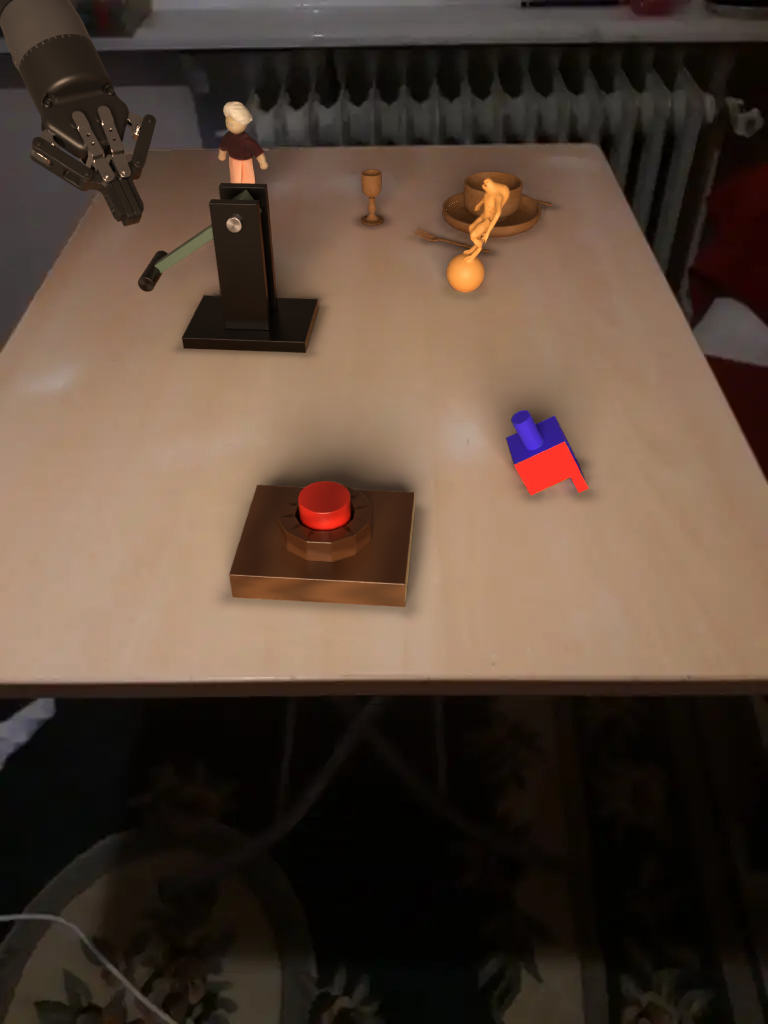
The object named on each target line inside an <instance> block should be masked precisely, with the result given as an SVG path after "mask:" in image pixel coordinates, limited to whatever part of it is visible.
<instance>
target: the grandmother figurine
mask: <svg viewBox="0 0 768 1024" xmlns="http://www.w3.org/2000/svg"><path fill="white" fill-rule="evenodd" d="M222 112H223V115H224V117H225V126H226V128H227V130H228V131H227V132H226V133H225V134H224V135H223V136H222V138H221V141H220V142H219V144H218V155H217V159H218V160H219V161H221V162H223V161H226V159H227V154H228V167H229V178H230V183H255V184H257V183H256V176H255V170H254V164H253V159H254V158H255V159H256V160H257V162H258V163H259V167H260V169H261V170H264V171H265V170H267V169H268V168H269V163H268V162H267V158H266V156H265V155H266V154H265V149H263V148H262V146H261V145H260V144H259V143H258V142H257V140H255V139H254V138H253V137H251V136H250V135H249V134H248V133H247V132H246V129H247V127H248V125H249V123H251V122H253V115H252V114H251V112H250V111H249V108H247V107H246V105H244V103H242V102H240V101H228V102H226V103H225V105H224V106H223V110H222Z"/></svg>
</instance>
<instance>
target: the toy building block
mask: <svg viewBox="0 0 768 1024" xmlns="http://www.w3.org/2000/svg"><path fill="white" fill-rule="evenodd" d="M530 412H531V411H529V410H528V409H522V410H519V411H516V412H515V413H514V414H513V415H512V416H511V418H510V422H511V424H512V426H513V428H514V430H515V431H516V433H513V434H511V435H508V436H507V437H505V440H506V443H507V447H508V450H509V454H510V456H511V460H512V463H513V466H514V468H515V470H516V471H517V473H518V475H519V476H520V478H521V480H522V482H523V484H524V485H525V487H526V489H527V491H528V493H529V495H530V496H533V495H535V494H537V493H540V492H542V491H545V490H547V489H549V488H551V487H553V486H556V485H558V484H560V483H562V482H564V481H566V480H569V479H571V480H572V483H573V485H574V486H575V488H576V490H577V492H578V493H582V492H583V491H587V490H588V489H589V486H588V483H587V481H586V478H585V475H584V473H583V471H582V468H581V465H580V462H579V460H578V459H577V456H576V455H575V452H574V450H573V448H572V446H571V445H570V442H569V441H568V439H567V436H566V434H565V433H564V431H563V429H562V427H561V425H560V423H559V421H558V419H557V417H556V415H552V416H550V417H548V418H546V419H543V420H541V421H538V422H537V423H536V422H535V420H534V419H533V416H532V414H531V413H530Z"/></svg>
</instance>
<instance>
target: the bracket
mask: <svg viewBox="0 0 768 1024" xmlns="http://www.w3.org/2000/svg"><path fill="white" fill-rule="evenodd" d="M244 190H247V191H248V192H249V194H250V195H251V196H252V198H253V199H254V200H231V199H233V198H234V197H236V196H237V195H239V194H240V193H242V192H243V191H244ZM218 193H219V198H211V199H210V201H209V202H208V208H209V215H210V223H211V224H212V232H213V239H212V240H213V247H214V255H215V262H216V269H217V276H218V286H219V292H220V295H212V294H211V295H209V294H204V295H202V297H201V300H200V302H199V303H198V306H197V308H196V309H195V311H194V313H193V315H192V317H191V319H190V321H189V323H188V325H187V327H186V329H185V331H184V333H183V335H182V337H181V341H182V347H183V349H190V350H216V351H219V350H220V351H243V352H267V353H268V352H269V353H295V354H304V353H305V354H306V352H307V350H308V345H309V342H310V338H311V336H312V332H313V329H314V325H315V322H316V319H317V317H318V316H317V315H318V312H319V309H320V308H319V299H318V298H302V297H278V292H277V291H278V290H277V289H278V288H277V279H276V268H275V257H274V246H273V245H274V244H273V235H272V234H273V233H272V224H271V223H272V222H271V212H270V201H269V200H270V199H269V190H268V183H256V184H255V183H231V182H220V184H219V185H218ZM260 208H261V210H262V212H261V214H260ZM211 224H210V225H211Z"/></svg>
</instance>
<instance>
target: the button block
mask: <svg viewBox="0 0 768 1024" xmlns="http://www.w3.org/2000/svg"><path fill="white" fill-rule="evenodd" d="M340 484H341V483H340ZM341 485H343V486H344V487H346V488H347V489H348V491H349V493H350V502H351V518H350V520H349V522H348V523H347V524H346V525H345V526H344V527H342V528H339V529H335V530H332V531H313V530H310V529H308V528H307V527H305V526H304V525H303V524H302V522H301V520H300V513H299V501H298V497H299V494H300V492H301V491H302V489H303V488H305V487H306V486H294V485H273V484H272V485H270V484H257V485H256V486H255V489H254V493H253V495H252V496H253V497H252V500H251V503H250V506H249V510H248V512H247V517H246V518H245V522H244V526H243V528H242V531H241V535H240V538H239V542H238V545H237V548H236V551H235V554H234V557H233V560H232V564H231V567H230V571H229V574H228V577H229V582H230V583H229V584H230V589H231V595H232V598H238V599H256V600H257V599H258V600H273V601H289V602H290V601H291V602H306V603H307V602H309V603H327V604H343V605H344V604H346V605H362V606H379V607H397V608H405V607H406V605H407V604H406V602H407V594H408V593H407V592H408V582H409V573H410V563H411V555H412V554H411V552H412V542H413V532H414V521H415V507H416V506H415V502H416V499H415V497H416V495H415V491H402V490H401V491H398V490H396V491H395V490H378V489H377V490H374V489H359V488H357V489H356V488H353V487H350V486H348V485H346V484H343V483H342V484H341Z"/></svg>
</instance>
